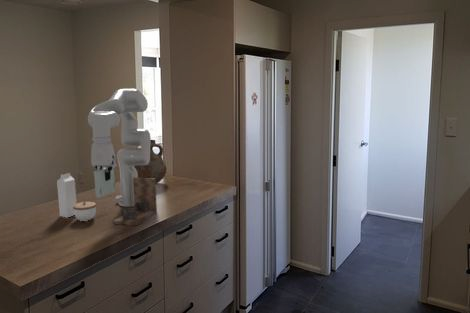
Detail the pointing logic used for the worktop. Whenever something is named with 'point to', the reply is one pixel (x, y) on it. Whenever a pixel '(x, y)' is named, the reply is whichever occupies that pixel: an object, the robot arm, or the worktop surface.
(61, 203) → the milk
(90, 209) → the lidded jar
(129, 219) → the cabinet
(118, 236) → the worktop surface
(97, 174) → the door
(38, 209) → the worktop surface
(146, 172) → the jug
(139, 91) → the robot arm
